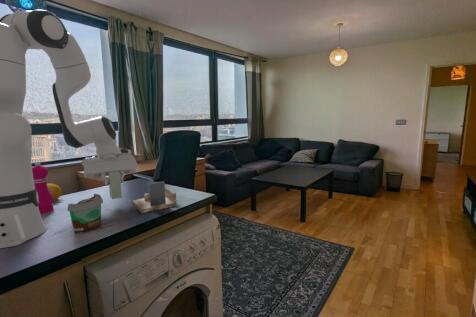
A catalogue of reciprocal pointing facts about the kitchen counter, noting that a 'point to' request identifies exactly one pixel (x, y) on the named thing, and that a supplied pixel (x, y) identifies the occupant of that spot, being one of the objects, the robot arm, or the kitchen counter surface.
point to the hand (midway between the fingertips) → (114, 182)
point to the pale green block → (115, 185)
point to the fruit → (54, 190)
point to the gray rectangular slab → (157, 193)
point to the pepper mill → (42, 188)
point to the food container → (86, 214)
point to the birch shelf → (144, 205)
